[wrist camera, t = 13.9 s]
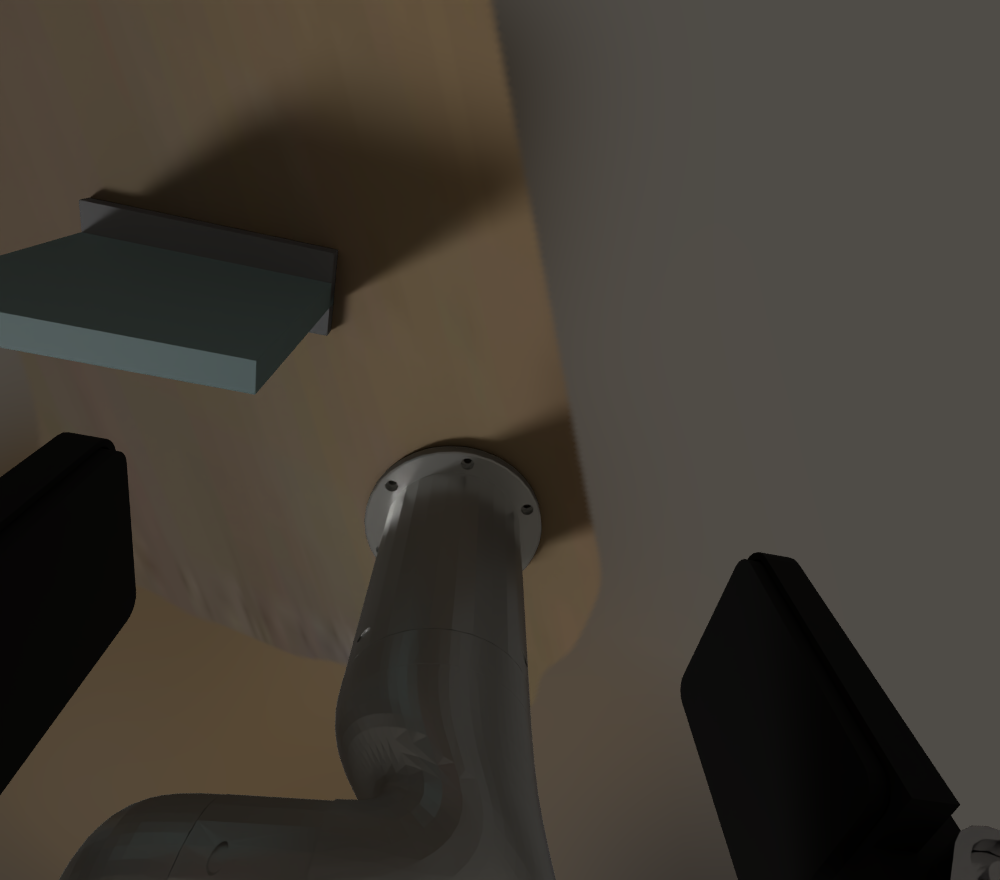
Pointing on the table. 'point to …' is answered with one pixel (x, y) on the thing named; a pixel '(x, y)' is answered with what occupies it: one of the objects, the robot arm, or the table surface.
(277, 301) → the screen
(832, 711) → the robot arm
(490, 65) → the table surface
